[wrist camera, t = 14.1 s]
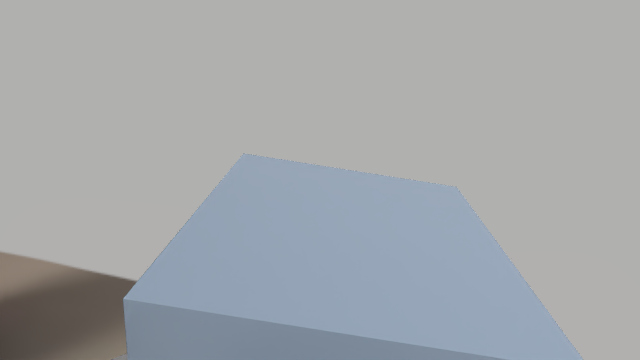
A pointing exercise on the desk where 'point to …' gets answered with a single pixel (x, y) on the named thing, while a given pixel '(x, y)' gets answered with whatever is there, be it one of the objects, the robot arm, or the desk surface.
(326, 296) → the tall light blue pillar
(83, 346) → the desk surface
